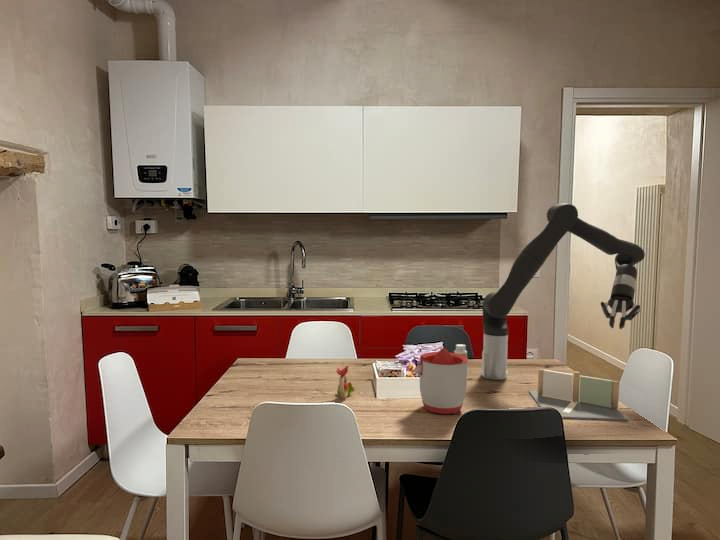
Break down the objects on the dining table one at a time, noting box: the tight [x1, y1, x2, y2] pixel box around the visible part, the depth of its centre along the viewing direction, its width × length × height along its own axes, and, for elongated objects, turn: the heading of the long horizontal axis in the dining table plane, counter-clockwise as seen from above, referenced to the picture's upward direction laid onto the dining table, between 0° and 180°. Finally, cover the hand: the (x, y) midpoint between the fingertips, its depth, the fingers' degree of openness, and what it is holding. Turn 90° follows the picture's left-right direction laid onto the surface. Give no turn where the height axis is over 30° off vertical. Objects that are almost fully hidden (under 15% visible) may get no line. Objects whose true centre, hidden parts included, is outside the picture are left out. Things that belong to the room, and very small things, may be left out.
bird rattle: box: [336, 365, 355, 401], centre depth 179 cm, size 6×11×9 cm
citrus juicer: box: [413, 347, 469, 415], centre depth 168 cm, size 16×17×20 cm
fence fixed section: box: [537, 368, 581, 402], centre depth 178 cm, size 14×2×10 cm, turn 55°
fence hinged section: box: [579, 375, 620, 410], centre depth 171 cm, size 12×2×9 cm, turn 55°
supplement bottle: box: [453, 343, 468, 358], centre depth 217 cm, size 5×5×10 cm
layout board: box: [528, 390, 630, 422], centre depth 173 cm, size 24×25×1 cm
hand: (616, 327), depth 184 cm, fingers closed
